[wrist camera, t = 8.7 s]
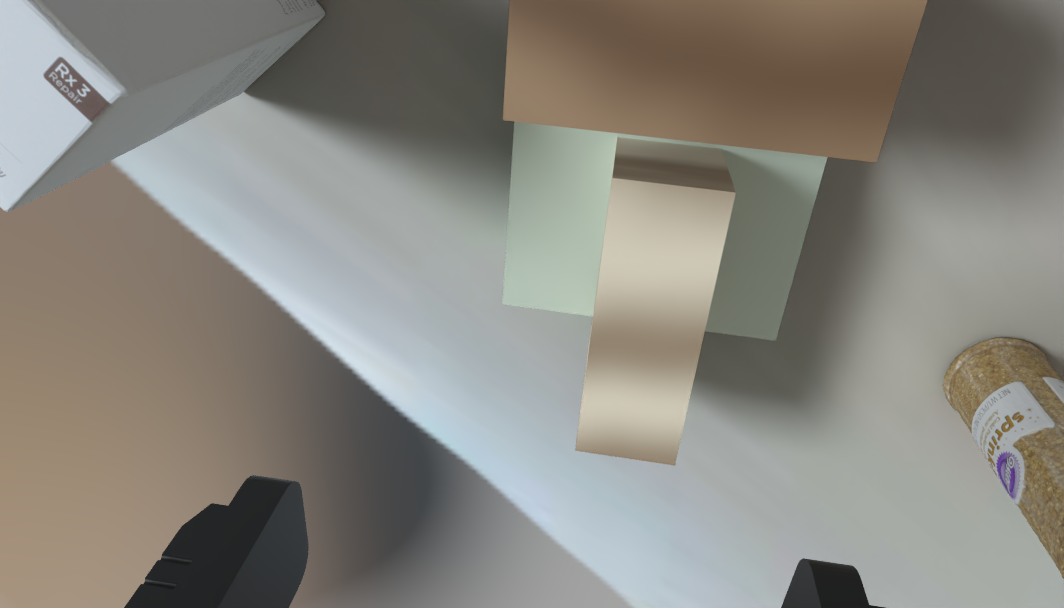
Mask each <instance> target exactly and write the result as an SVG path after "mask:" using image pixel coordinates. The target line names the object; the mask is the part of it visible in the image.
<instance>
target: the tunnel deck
mask: <svg viewBox="0 0 1064 608" xmlns="http://www.w3.org/2000/svg"><path fill="white" fill-rule="evenodd" d="M927 1H928V0H510V3H509V20H508V38H507V55H506V72H505V89H504V106H503V120H505V121H514V135H513V150H512V165H511V180H510V195H509V210H508V225H507V241H506V256H505V271H504V286H503V301H502V304H504V305H512V306H519V307H527V308H534V309H542V310H549V311H557V312H564V313H571V314H579V315H586V316H593V312H594V305H595V297H596V290H597V283H598V275H599V268H600V260H601V253H602V246H603V238H604V231H605V224H606V216H607V209H608V202H609V194H610V187H611V179H612V172H613V165H614V157H615V150H616V143H617V137H622V138H631V139H639V140H648V141H657V142H666V143H675V144H683V145H692V146H701V147H710V148H719V149H722V152H723V155H724V158H725V161H726V164H727V167H728V170H729V173H730V176H731V179H732V182H733V185H734V188H735V191H736V194H735V199H734V203H733V208H732V212H731V217H730V221H729V226H728V230H727V235H726V239H725V243H724V248H723V252H722V257H721V261H720V266H719V270H718V275H717V279H716V284H715V288H714V293H713V297H712V301H711V306H710V310H709V315H708V319H707V324H706V328H705V331H706V332H713V333H720V334H728V335H735V336H743V337H750V338H758V339H765V340H773V341H776V338H777V335H778V331H779V328H780V324H781V321H782V317H783V313H784V310H785V306H786V303H787V299H788V296H789V292H790V289H791V285H792V282H793V278H794V274H795V271H796V267H797V264H798V260H799V257H800V253H801V250H802V246H803V243H804V239H805V235H806V232H807V228H808V225H809V221H810V218H811V214H812V211H813V207H814V203H815V200H816V196H817V193H818V189H819V186H820V182H821V179H822V175H823V172H824V168H825V164H826V161H827V157H831V158H840V159H849V160H858V161H867V162H877V159H878V156H879V153H880V150H881V146H882V143H883V140H884V137H885V134H886V131H887V127H888V124H889V121H890V118H891V115H892V112H893V109H894V105H895V102H896V99H897V96H898V93H899V90H900V86H901V83H902V80H903V77H904V74H905V71H906V67H907V64H908V61H909V58H910V55H911V52H912V48H913V45H914V42H915V39H916V36H917V33H918V29H919V26H920V23H921V20H922V17H923V14H924V10H925V7H926V4H927Z"/></svg>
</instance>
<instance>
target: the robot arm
mask: <svg viewBox="0 0 1064 608" xmlns="http://www.w3.org/2000/svg"><path fill="white" fill-rule="evenodd" d="M307 558H308V538H307V529H306V522H305V514H304V507H303V498H302V491H301V487H300V484H299V483H298V482H296V481H289V480H282V479H276V478H269V477H262V476H254V475H253V476H250V477H249V478H247V479H246V481H245V482H244V483H243V485H242V486H241V487H240V489H239V490H238V492H237V494H236V495H235V497H234V498H233V500H232V501H231V503H230V504H229V506H226V505H219V504H210V505H209V506H208V507H206V508H205V509H204V510H203V511H201V512H200V513H199V514H197V515H196V516H195V517H193V518H192V519H191V520H190V521H188V522H187V523H185V524H184V525H183V526H182V527H181V529H180V530H179V531H178V532H177V534H176V535H175V537H174V538H173V540H172V541H171V542H170V544H169V545H168V547H167V548H166V549H165V551H164V552H163V554H162V558H161V560H158V561H157V562H156V564H155V565H154V566H153V568H152V569H151V571H150V572H149V573H148V575H147V576H146V578H145V583H144V584H141V585H140V586H139V588H138V589H137V590H136V592H135V593H134V595H133V596H132V597H131V599H130V600H129V602H128V603H127V604H126V606H125V607H124V608H289V606H290V604H291V602H292V600H293V598H294V596H295V594H296V592H297V590H298V587H299V585H300V583H301V580H302V578H303V575H304V572H305V568H306V563H307ZM781 608H884V607H878V606H871V605H869V603H868V600H867V597H866V594H865V591H864V587H863V584H862V581H861V578H860V575H859V573H858V571H857V570H856V568H855V567H853V566H850V565H844V564H837V563H830V562H823V561H817V560H810V559H802V560H800V562H799V563H798V565H797V568H796V570H795V573H794V576H793V578H792V581H791V583H790V586H789V589H788V591H787V594H786V596H785V599H784V602H783V604H782V607H781Z"/></svg>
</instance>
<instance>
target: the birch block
mask: <svg viewBox="0 0 1064 608" xmlns="http://www.w3.org/2000/svg"><path fill="white" fill-rule="evenodd" d="M735 194H736V191H735V188H734V185H733V182H732V179H731V176H730V173H729V170H728V167H727V164H726V161H725V158H724V155H723V152H722V149H719V148H710V147H701V146H692V145H683V144H675V143H666V142H657V141H648V140H639V139H631V138H622V137H617V143H616V150H615V157H614V165H613V172H612V179H611V187H610V194H609V202H608V209H607V216H606V224H605V231H604V238H603V246H602V253H601V260H600V268H599V275H598V283H597V290H596V297H595V305H594V312H593V319H592V327H591V334H590V341H589V349H588V356H587V364H586V371H585V378H584V386H583V394H582V402H581V410H580V417H579V425H578V433H577V441H576V449H575V451H582V452H589V453H595V454H602V455H609V456H615V457H622V458H629V459H635V460H642V461H649V462H656V463H662V464H669V465H675V462H676V458H677V453H678V449H679V444H680V440H681V435H682V431H683V426H684V422H685V417H686V413H687V409H688V404H689V400H690V395H691V391H692V386H693V382H694V377H695V373H696V368H697V364H698V359H699V355H700V351H701V346H702V342H703V337H704V333H705V328H706V324H707V319H708V315H709V310H710V306H711V301H712V297H713V293H714V288H715V284H716V279H717V275H718V270H719V266H720V261H721V257H722V252H723V248H724V243H725V239H726V235H727V230H728V226H729V221H730V217H731V212H732V208H733V203H734V199H735Z"/></svg>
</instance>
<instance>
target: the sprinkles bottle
mask: <svg viewBox="0 0 1064 608" xmlns="http://www.w3.org/2000/svg"><path fill="white" fill-rule="evenodd" d="M943 389H944V392H945V395H946V398H947V400H948V402H949V403H950V405H951V406H952V407H953V408H954V409H955V410H956V411H957V412H958V413H959V414H960V416H961V417H962V419H963V421H964V422H965V424H966V425H967V426H968V428H969V430H970V431H971V433H972V435H973V438H974V441H975V442H976V444H977V446H978V447H979V449H980V451H981V452H982V454H983V455H984V457H985V458H986V460H987V461H988V463H989V465H990V466H991V468H992V469H993V471H994V472H995V474H996V476H997V477H998V479H999V480H1000V482H1001V483H1002V485H1003V486H1004V488H1005V489H1006V491H1007V493H1008V494H1009V496H1010V497H1011V499H1012V500H1013V501H1014V502H1015V504H1016V505H1017V506H1018V507H1019V508H1020V510H1021V512H1022V514H1023V515H1024V517H1025V518H1026V519H1027V522H1028V523H1029V524H1030V526H1031V527H1032V529H1033V531H1034V532H1035V533H1036V534H1037V536H1038V538H1039V540H1040V542H1041V543H1042V544H1043V546H1044V547H1045V549H1046V550H1047V551H1048V553H1049V555H1050V556H1051V558H1052V559H1053V561H1054V562H1055V564H1056V566H1057V568H1058V569H1059V571H1060V572H1061V575H1062V577H1063V579H1064V380H1063V379H1062V378H1061V377H1060V375H1058V374H1057V373H1056V371H1055V370H1054V369H1053V368H1052V366H1051V365H1050V364H1049V361H1048V359H1047V357H1046V356H1045V354H1044V353H1043V352H1042V351H1041V350H1039V349H1038V348H1037V347H1036V346H1034V345H1032V344H1031V343H1028V342H1026V341H1023V340H1019V339H1012V338H994V339H990V340H986V341H982V342H980V343H978V344H976V345H974V346H972V347H971V348H969V349H966V350H965V351H963V353H962V354H960V355H958V356H957V357H956V358H955V360H954V361H953V362H952V363H951V365H950V368H949V369H948V370H947V372H946V375H945V377H944V384H943Z"/></svg>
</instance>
